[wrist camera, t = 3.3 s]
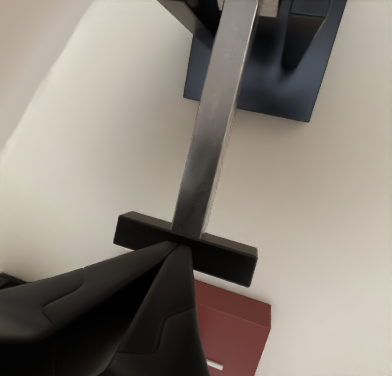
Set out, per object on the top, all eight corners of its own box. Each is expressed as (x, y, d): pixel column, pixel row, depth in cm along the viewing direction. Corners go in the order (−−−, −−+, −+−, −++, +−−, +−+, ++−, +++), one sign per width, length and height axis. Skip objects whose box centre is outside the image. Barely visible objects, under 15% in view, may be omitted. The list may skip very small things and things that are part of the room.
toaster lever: (250, 269, 11) (249, 298, 8) (133, 233, 11) (101, 249, 9) (341, -63, 9) (371, -142, 7) (200, -72, 10) (183, -145, 8)
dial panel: (113, 340, 27) (97, 364, 25) (123, 255, 24) (105, 272, 22) (241, 392, 25) (237, 424, 22) (271, 305, 21) (270, 330, 19)
